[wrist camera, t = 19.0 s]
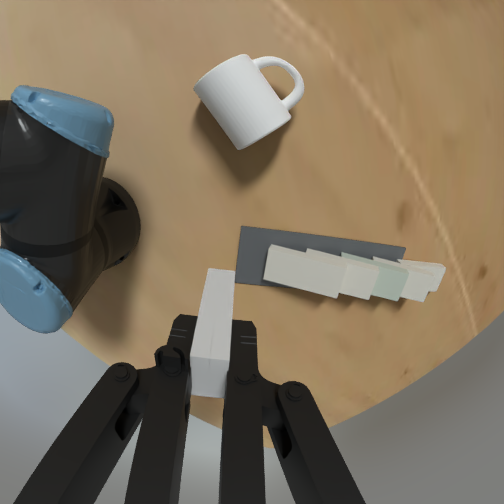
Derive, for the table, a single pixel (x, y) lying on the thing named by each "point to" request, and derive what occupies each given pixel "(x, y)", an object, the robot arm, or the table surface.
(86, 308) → the table surface
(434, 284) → the tile
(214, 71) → the mug
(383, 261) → the tile
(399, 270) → the tile
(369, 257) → the strip
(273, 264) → the tile
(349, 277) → the tile
